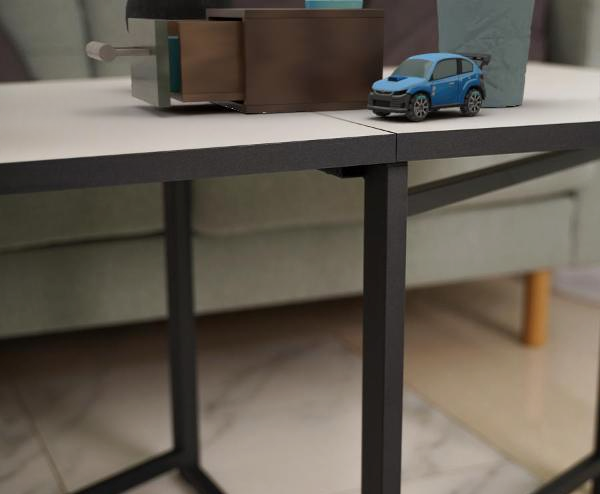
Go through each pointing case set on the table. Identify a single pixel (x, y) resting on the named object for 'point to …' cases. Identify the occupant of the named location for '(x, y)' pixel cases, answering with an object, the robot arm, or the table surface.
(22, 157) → the table surface
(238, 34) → the drawer
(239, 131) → the table surface
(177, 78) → the block
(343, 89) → the cabinet
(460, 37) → the grey-green crumpled block
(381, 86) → the toy car
